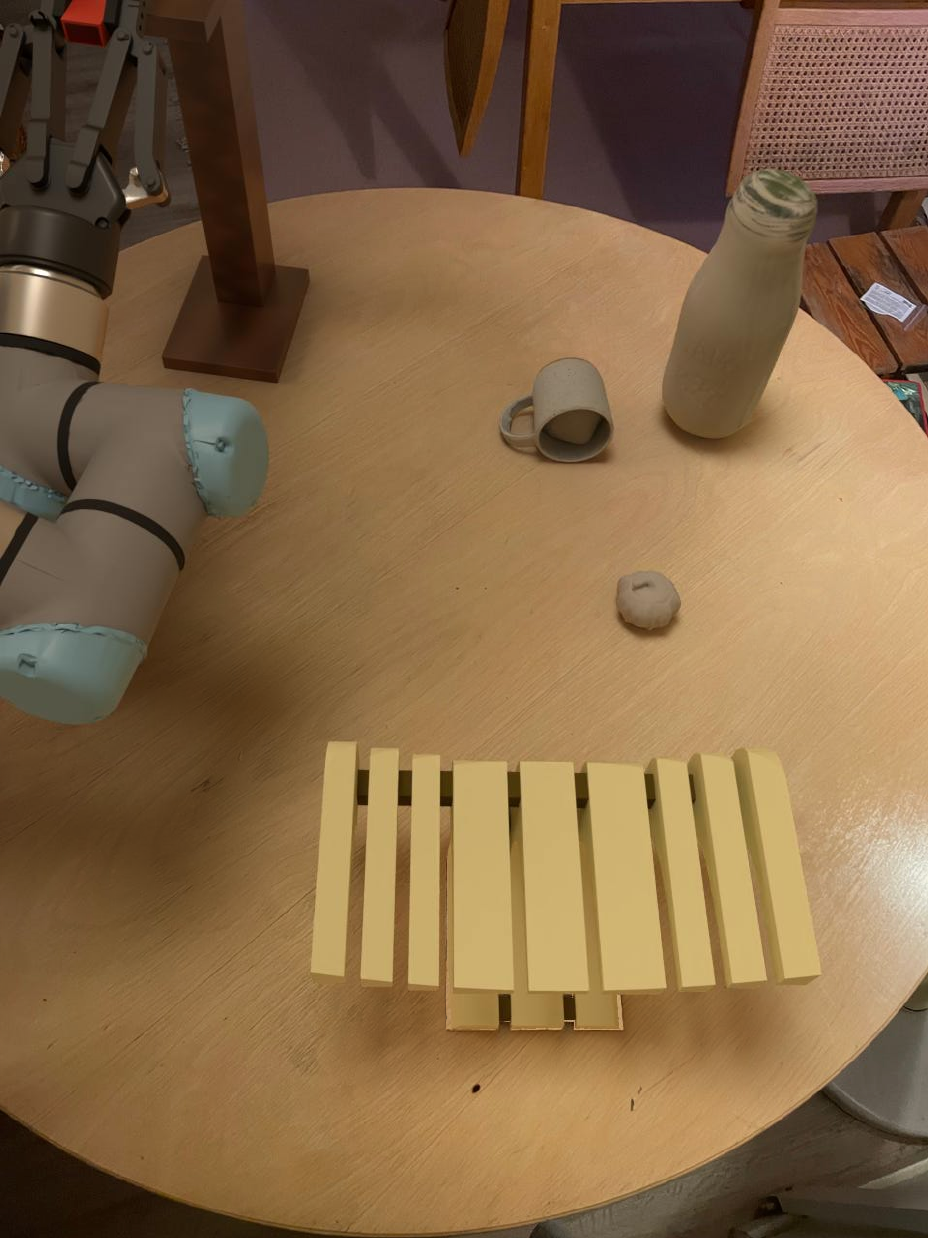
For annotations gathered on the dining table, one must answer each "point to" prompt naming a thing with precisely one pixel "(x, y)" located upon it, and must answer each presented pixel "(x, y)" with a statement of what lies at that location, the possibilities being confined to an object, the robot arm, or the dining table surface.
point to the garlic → (647, 599)
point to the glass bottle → (740, 306)
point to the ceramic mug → (564, 412)
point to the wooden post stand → (226, 202)
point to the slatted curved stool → (564, 880)
